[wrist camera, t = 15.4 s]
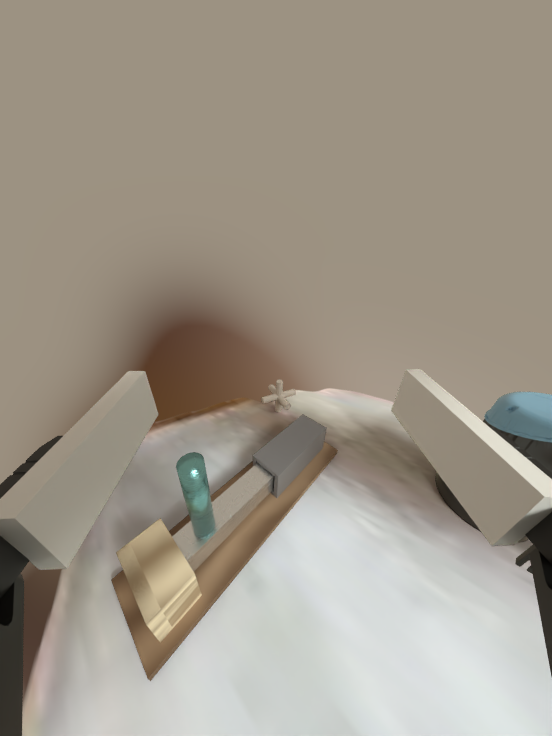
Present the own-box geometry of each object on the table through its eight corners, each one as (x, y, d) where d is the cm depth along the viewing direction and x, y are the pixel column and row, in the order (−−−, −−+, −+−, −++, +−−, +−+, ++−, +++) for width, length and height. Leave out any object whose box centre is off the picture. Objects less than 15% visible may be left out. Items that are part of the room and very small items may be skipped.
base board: (336, 453, 53) (337, 450, 52) (150, 680, 25) (147, 678, 24) (295, 427, 59) (296, 424, 59) (113, 583, 32) (111, 579, 31)
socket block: (201, 595, 30) (194, 573, 27) (160, 642, 26) (146, 624, 23) (169, 541, 35) (160, 518, 32) (131, 575, 31) (116, 552, 28)
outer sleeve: (322, 448, 52) (326, 427, 49) (276, 498, 42) (278, 476, 38) (300, 434, 56) (302, 414, 53) (253, 476, 45) (252, 455, 42)
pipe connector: (255, 404, 67) (255, 376, 62) (284, 396, 71) (286, 369, 66) (270, 426, 59) (271, 396, 54) (302, 416, 63) (305, 386, 59)
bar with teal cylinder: (287, 474, 45) (294, 404, 36) (168, 597, 29) (130, 524, 20) (272, 462, 47) (275, 393, 38) (155, 570, 31) (115, 494, 22)
